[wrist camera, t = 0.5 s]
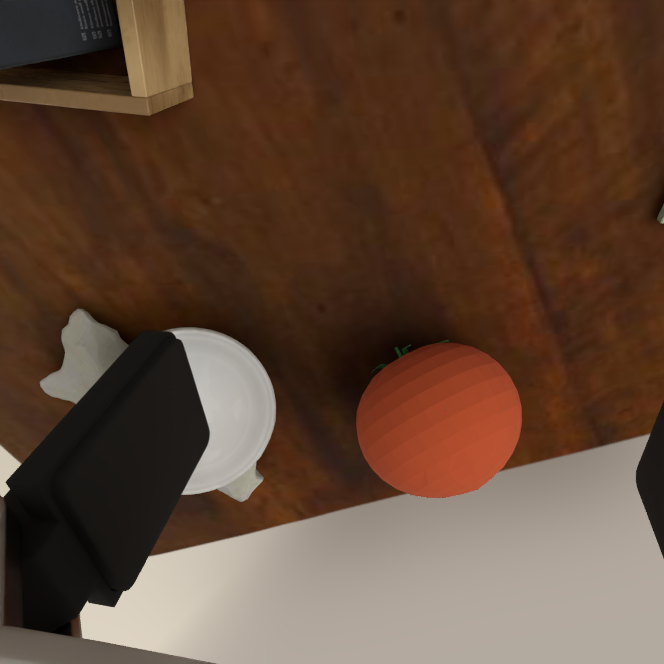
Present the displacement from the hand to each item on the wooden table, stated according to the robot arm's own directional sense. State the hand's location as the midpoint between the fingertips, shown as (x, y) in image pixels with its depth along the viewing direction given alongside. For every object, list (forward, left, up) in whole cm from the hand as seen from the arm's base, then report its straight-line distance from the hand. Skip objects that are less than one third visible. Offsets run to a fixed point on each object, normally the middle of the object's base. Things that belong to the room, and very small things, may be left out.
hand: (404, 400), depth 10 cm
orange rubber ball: (+17, +6, -12) cm, 22 cm away
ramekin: (+19, -15, -18) cm, 30 cm away
